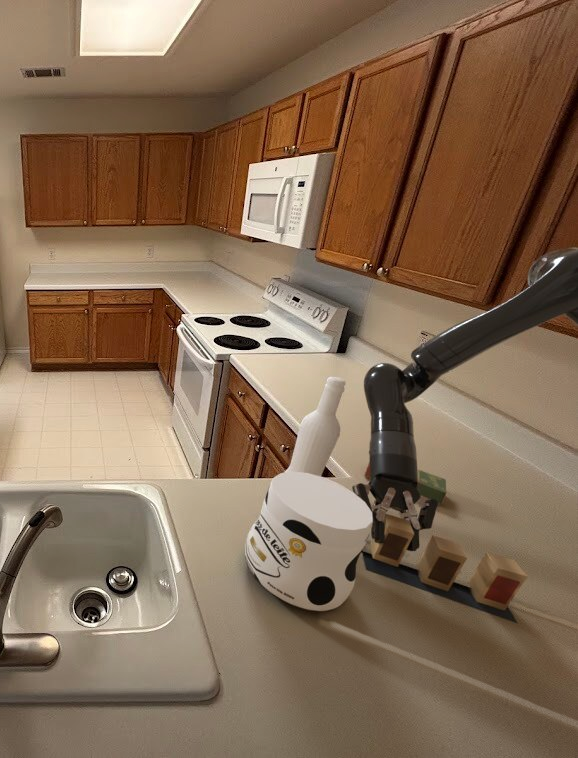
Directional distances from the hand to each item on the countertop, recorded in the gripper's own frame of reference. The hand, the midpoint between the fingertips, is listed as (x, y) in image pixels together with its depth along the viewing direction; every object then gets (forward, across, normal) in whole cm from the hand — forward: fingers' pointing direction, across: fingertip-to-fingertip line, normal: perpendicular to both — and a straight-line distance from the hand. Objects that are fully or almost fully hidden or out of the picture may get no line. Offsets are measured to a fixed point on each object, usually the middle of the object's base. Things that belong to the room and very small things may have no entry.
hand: (395, 546), depth 76 cm
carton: (-21, +17, +30) cm, 41 cm away
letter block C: (+5, +16, +3) cm, 17 cm away
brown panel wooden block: (+4, +8, +4) cm, 10 cm away
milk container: (+10, -18, -1) cm, 21 cm away
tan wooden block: (+2, 0, +4) cm, 5 cm away
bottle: (-11, -11, +20) cm, 25 cm away
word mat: (+4, +8, +5) cm, 10 cm away
